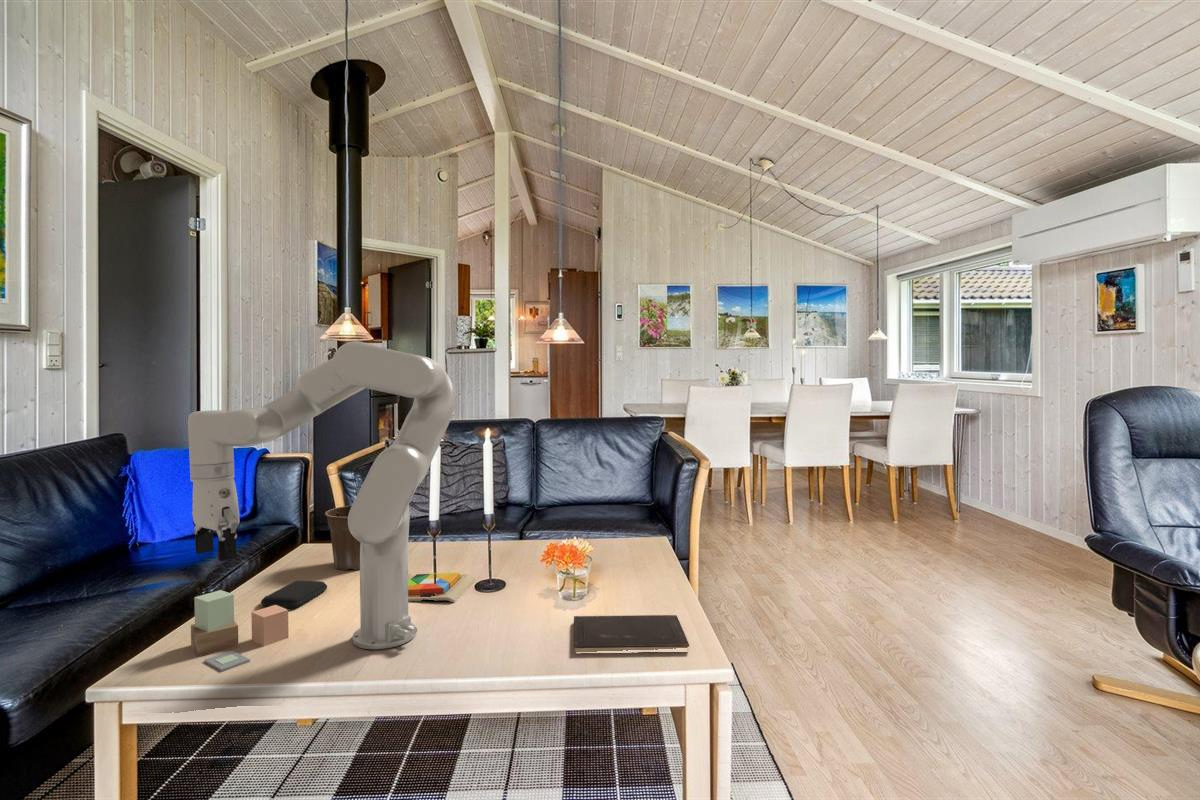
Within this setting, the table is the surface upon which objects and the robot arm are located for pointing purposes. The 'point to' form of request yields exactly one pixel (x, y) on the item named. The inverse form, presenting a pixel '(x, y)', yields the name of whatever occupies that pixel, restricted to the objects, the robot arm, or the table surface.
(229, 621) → the sage block
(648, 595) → the table surface
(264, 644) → the terracotta block
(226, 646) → the walnut base
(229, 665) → the card
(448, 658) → the table surface
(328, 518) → the plant pot
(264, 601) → the carrying case or bag
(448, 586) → the wooden puzzle
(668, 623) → the hardcover book
